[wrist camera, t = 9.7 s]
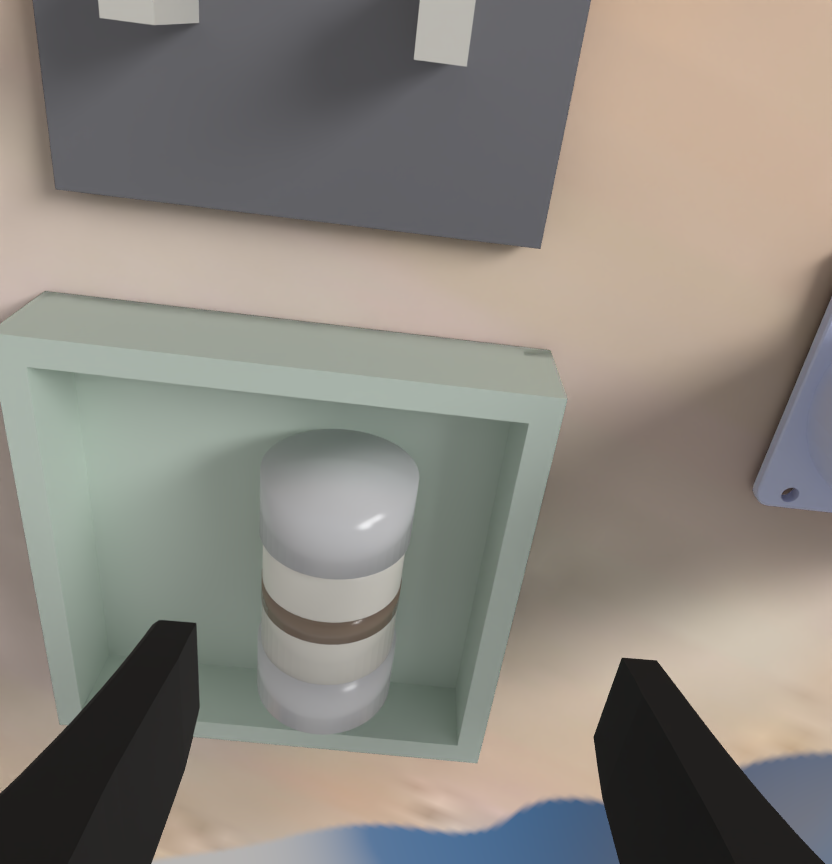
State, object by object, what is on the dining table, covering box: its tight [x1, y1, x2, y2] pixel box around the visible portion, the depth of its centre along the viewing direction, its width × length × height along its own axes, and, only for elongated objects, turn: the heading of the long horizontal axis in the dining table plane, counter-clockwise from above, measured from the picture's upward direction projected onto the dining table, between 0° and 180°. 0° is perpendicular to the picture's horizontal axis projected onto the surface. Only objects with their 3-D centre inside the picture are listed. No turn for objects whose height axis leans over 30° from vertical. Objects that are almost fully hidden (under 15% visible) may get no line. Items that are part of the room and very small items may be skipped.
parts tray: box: [0, 291, 567, 763], centre depth 23 cm, size 14×14×3 cm
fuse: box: [257, 429, 419, 735], centre depth 22 cm, size 4×8×4 cm
